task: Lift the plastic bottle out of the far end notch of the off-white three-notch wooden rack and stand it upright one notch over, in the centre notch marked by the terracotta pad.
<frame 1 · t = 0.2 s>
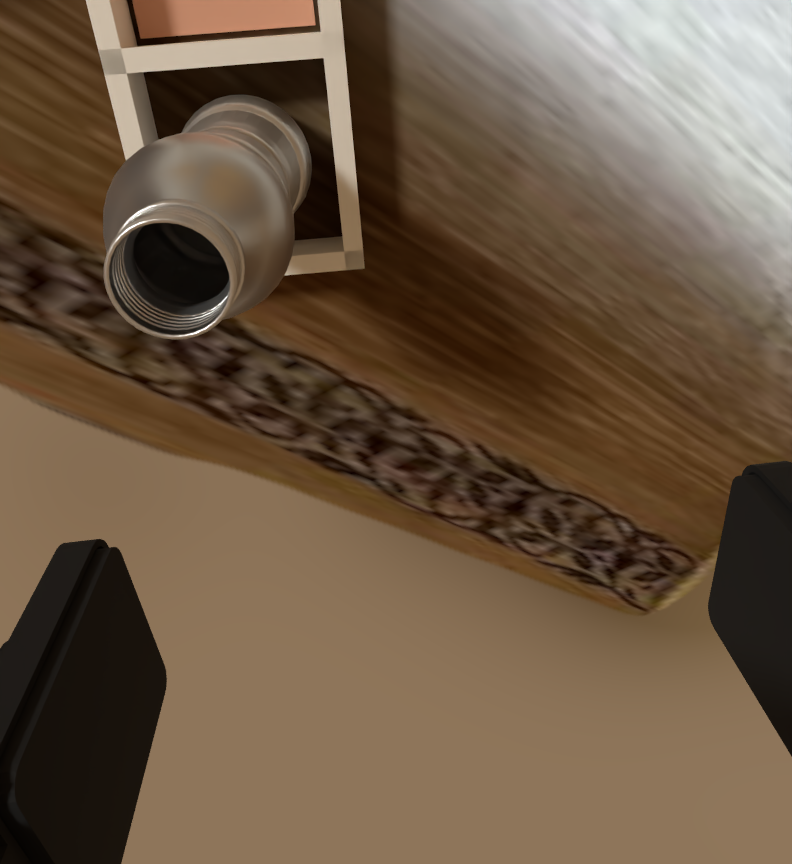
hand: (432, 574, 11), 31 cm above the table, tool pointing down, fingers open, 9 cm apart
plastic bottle: (250, 157, 37), resting in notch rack
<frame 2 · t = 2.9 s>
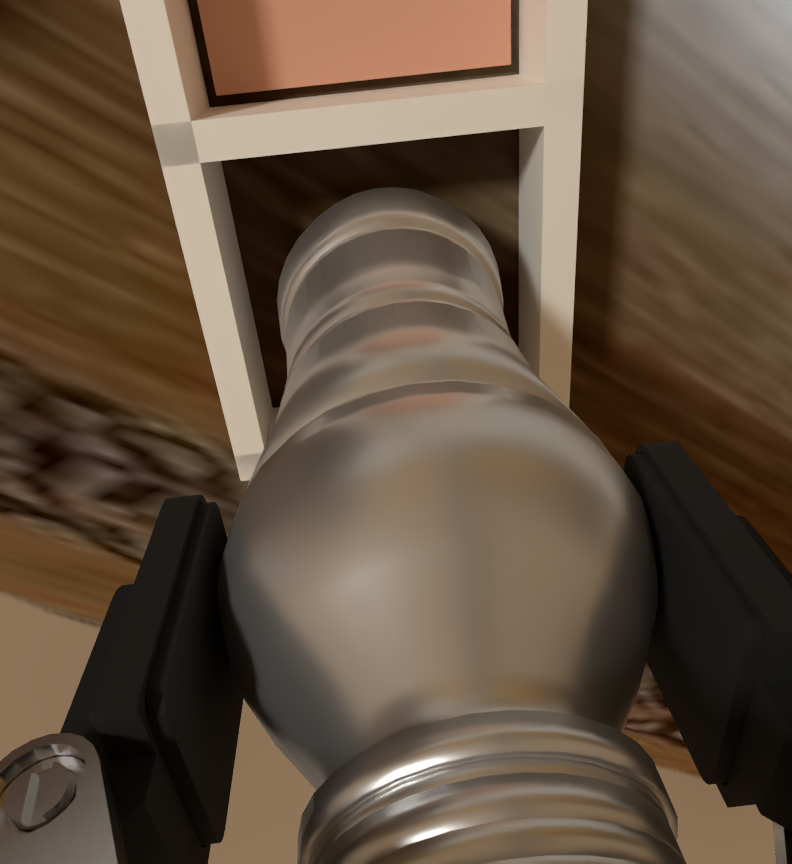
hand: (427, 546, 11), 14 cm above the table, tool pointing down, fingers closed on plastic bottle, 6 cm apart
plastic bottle: (383, 273, 23), resting in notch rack, touching gripper
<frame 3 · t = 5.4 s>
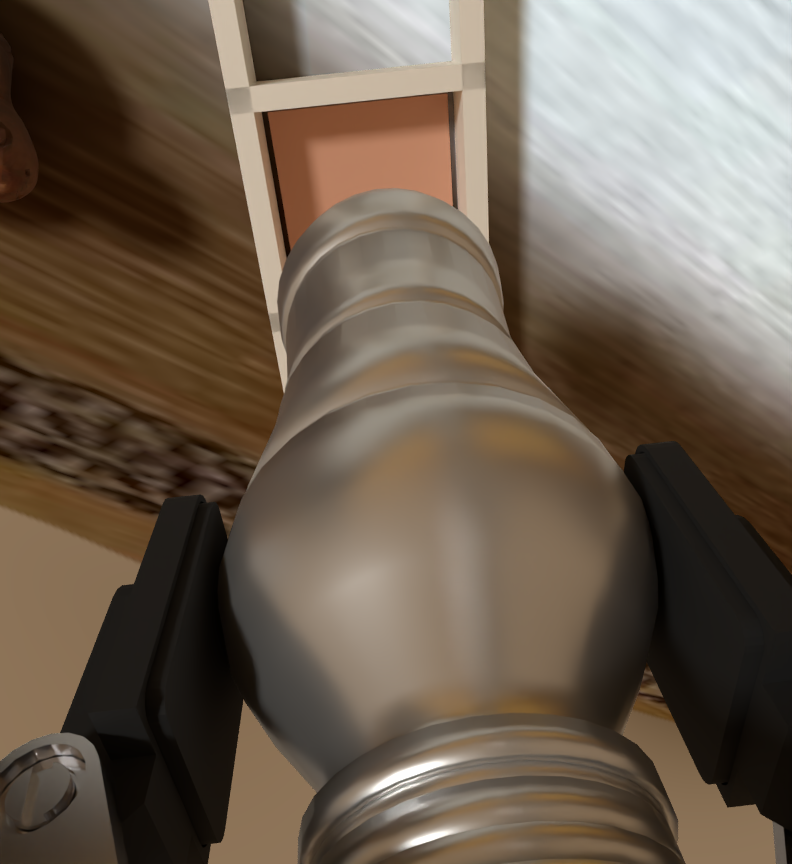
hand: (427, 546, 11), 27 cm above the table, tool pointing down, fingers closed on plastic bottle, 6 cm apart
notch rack: (367, 194, 35), on the table
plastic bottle: (383, 273, 23), point 13 cm above the table, touching gripper
when the fingers open (15 cm above the table, at t = 8.3 s): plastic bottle stays where it is, resting on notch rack.
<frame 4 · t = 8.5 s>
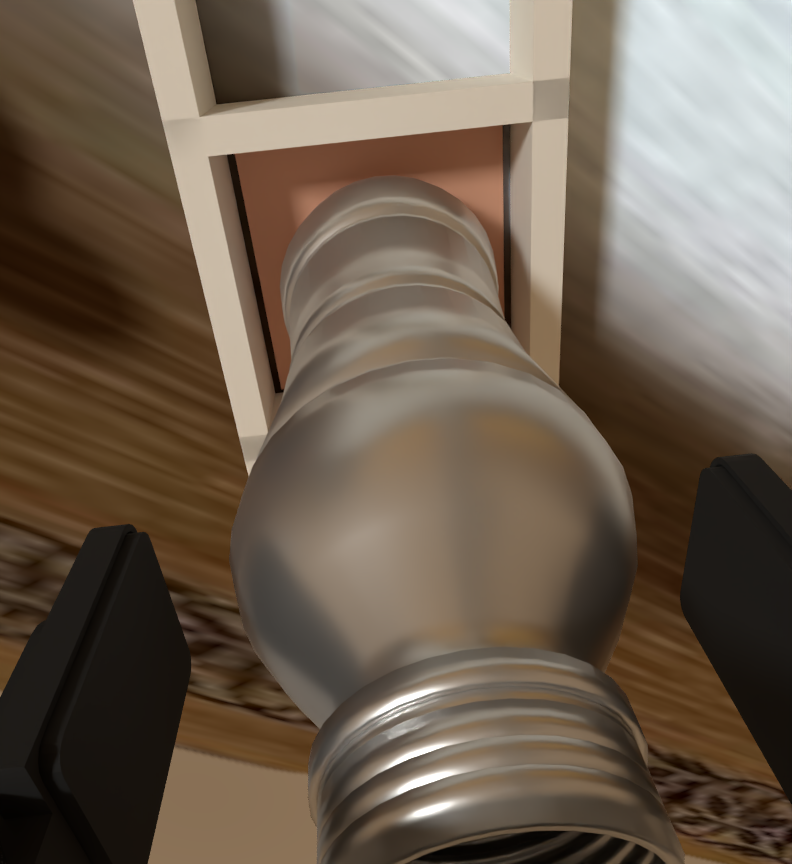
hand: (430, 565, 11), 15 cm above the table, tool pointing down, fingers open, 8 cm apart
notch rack: (381, 264, 24), on the table
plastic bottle: (382, 259, 24), resting on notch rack
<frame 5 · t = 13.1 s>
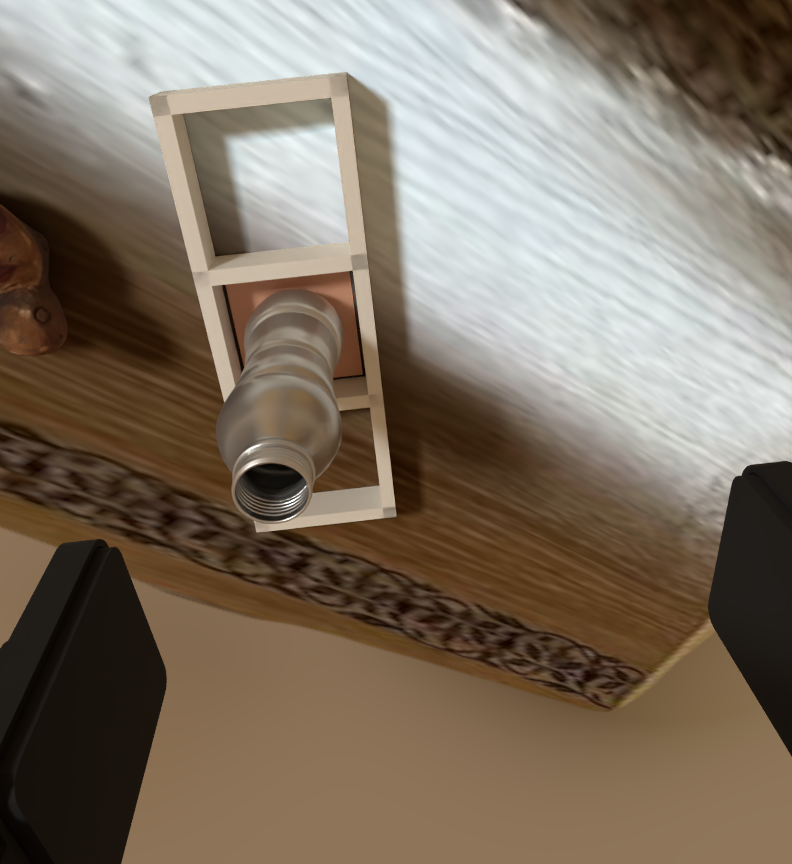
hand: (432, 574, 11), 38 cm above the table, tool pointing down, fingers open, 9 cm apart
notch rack: (296, 326, 49), on the table
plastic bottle: (296, 323, 49), resting on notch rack
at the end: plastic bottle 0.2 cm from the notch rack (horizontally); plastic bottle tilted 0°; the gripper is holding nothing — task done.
